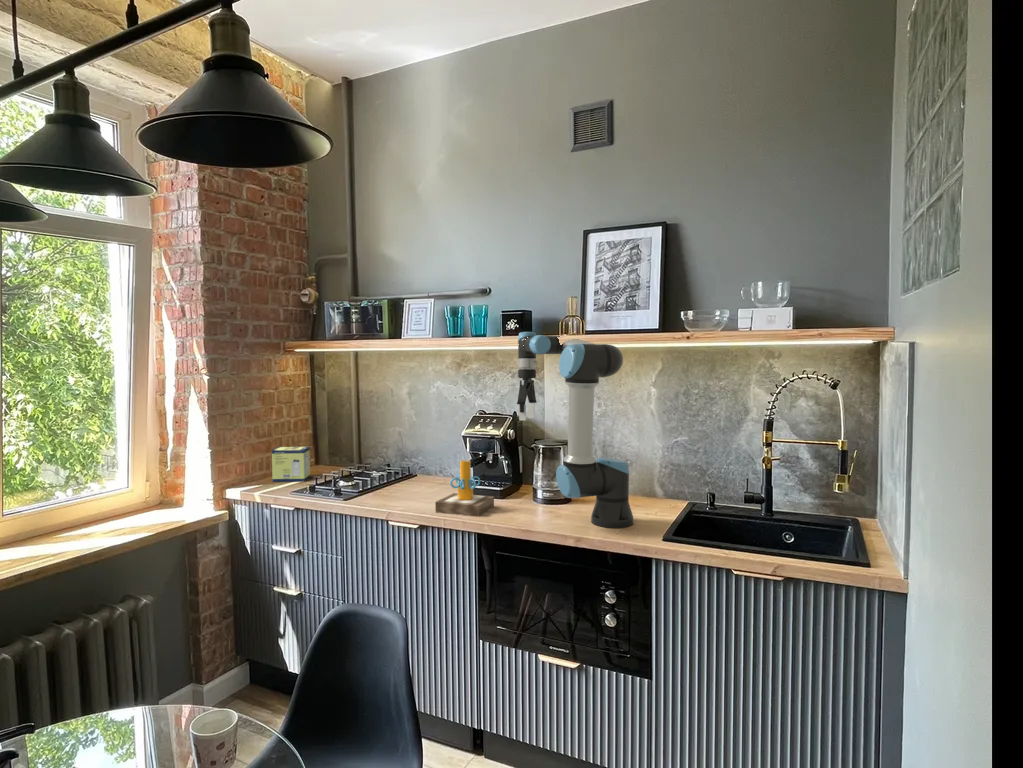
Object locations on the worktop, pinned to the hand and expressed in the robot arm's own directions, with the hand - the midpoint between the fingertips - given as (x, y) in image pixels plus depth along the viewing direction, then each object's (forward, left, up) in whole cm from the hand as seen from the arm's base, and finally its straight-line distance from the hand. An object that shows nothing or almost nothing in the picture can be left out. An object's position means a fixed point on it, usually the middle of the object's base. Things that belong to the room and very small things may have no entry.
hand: (526, 419), depth 257 cm
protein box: (+120, +3, -34) cm, 125 cm away
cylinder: (+17, +25, -30) cm, 43 cm away
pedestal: (+17, +26, -34) cm, 46 cm away
